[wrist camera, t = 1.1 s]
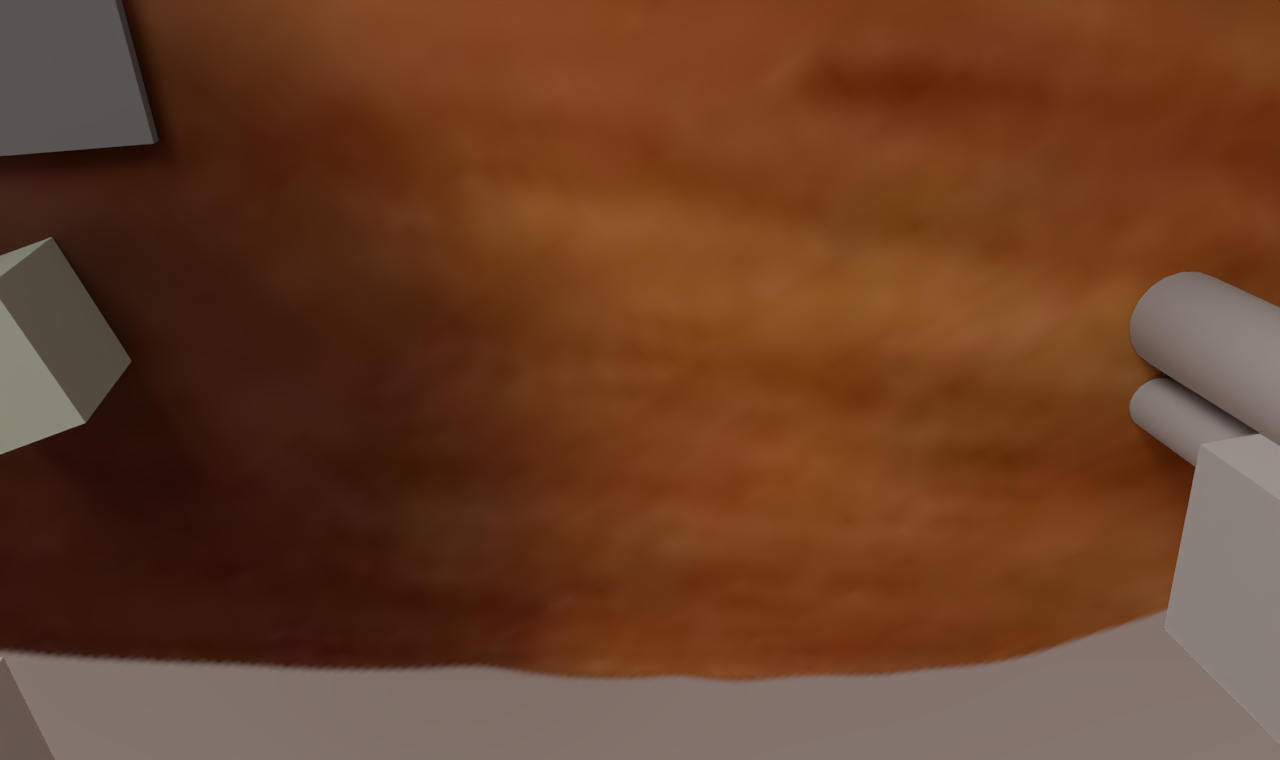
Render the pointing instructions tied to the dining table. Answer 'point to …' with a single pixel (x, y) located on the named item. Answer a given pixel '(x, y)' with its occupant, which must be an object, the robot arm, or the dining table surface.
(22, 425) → the sage cube
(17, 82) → the rubber mat
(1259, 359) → the vase
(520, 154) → the dining table surface
